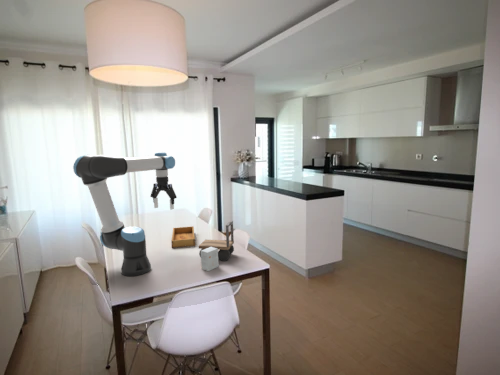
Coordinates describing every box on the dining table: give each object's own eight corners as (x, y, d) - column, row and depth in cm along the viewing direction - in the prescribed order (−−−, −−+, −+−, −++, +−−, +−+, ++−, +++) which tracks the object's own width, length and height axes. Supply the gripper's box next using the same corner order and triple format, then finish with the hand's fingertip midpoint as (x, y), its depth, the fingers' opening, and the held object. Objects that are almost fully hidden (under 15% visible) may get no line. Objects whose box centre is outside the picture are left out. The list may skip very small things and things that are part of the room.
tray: (195, 246, 207) (194, 238, 206) (171, 248, 204) (171, 240, 203) (194, 233, 236) (193, 226, 236) (173, 235, 233) (173, 227, 233)
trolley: (229, 261, 177) (227, 225, 174) (199, 259, 181) (197, 224, 178) (234, 253, 189) (232, 220, 186) (206, 252, 193) (204, 219, 190)
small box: (211, 264, 174) (210, 246, 173) (218, 266, 171) (218, 248, 169) (201, 269, 168) (200, 250, 167) (208, 271, 165) (207, 252, 163)
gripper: (181, 176, 199) (182, 208, 202) (152, 175, 210) (154, 206, 213) (173, 177, 192) (175, 210, 195) (143, 176, 203) (145, 208, 206)
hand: (164, 208), depth 204 cm, fingers open, 13 cm apart
